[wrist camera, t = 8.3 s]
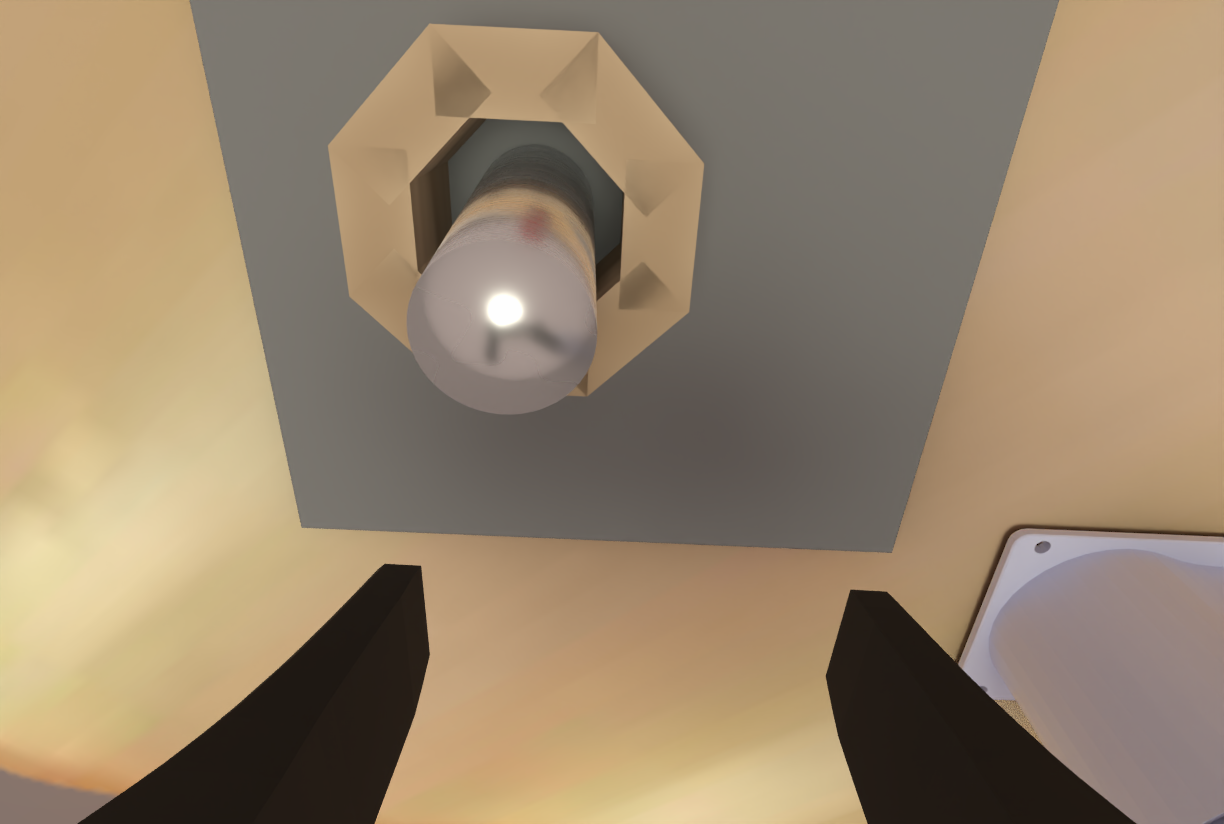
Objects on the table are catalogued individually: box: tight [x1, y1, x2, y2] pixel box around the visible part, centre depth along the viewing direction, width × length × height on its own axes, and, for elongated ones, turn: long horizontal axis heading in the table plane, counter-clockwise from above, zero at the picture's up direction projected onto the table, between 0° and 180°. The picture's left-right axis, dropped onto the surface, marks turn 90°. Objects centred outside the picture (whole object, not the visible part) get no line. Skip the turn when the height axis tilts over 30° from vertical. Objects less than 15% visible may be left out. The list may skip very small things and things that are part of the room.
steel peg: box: [406, 145, 597, 415], centre depth 14 cm, size 3×3×8 cm
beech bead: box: [328, 24, 704, 396], centre depth 16 cm, size 8×8×4 cm
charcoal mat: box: [190, 0, 1059, 553], centre depth 19 cm, size 20×17×1 cm
